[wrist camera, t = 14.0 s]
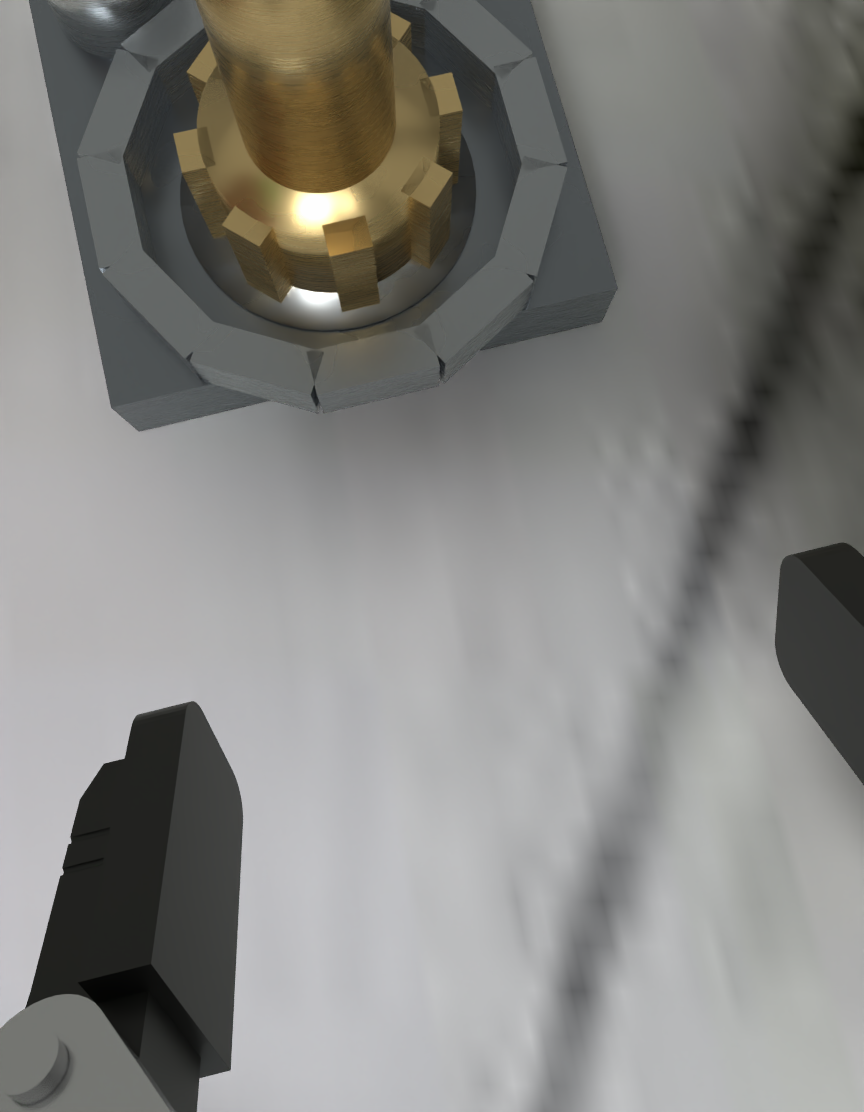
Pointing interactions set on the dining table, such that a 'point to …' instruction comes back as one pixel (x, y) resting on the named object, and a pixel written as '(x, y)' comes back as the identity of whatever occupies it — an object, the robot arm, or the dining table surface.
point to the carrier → (304, 316)
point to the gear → (320, 144)
